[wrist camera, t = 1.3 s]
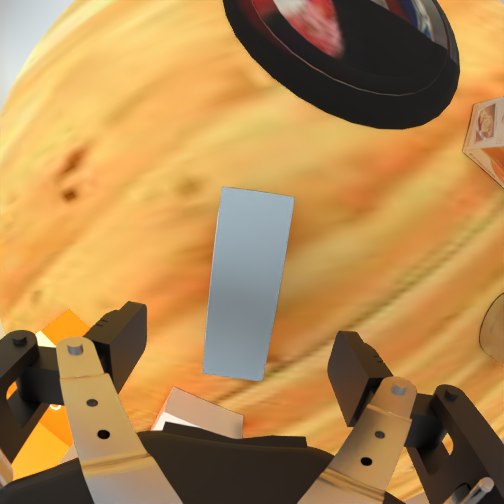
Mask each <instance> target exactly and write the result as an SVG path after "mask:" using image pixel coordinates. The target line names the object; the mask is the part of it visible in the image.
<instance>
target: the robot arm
mask: <svg viewBox="0 0 504 504" xmlns="http://www.w3.org/2000/svg"><path fill="white" fill-rule="evenodd" d="M146 341H147V307H146V305H145V304H141V303H136V302H131V301H128V302H127V303H126V304H125V305H124V306H123V307H122V308H121V309H120V310H114V311H111V312H109V313H106V314H105V315H104V316H103V317H102V318H101V319H100V320H99V321H98V322H97V323H96V324H95V325H94V326H93V327H91V328H90V329H89V330H88V331H87V332H86V333H85V334H84V335H83V336H82V337H79V336H72V337H67V338H64V339H62V340H60V341H59V342H58V343H57V345H56V347H46V346H38V341H37V337H36V335H35V334H34V333H32V332H30V331H26V330H17V331H13V332H10V333H8V334H7V335H6V336H4V337H3V338H2V339H1V340H0V504H406V503H404V502H402V501H401V500H399V499H397V498H396V497H394V496H393V495H391V494H390V493H388V492H386V491H385V490H386V488H387V486H388V484H389V481H390V479H391V477H392V474H393V472H394V469H395V467H396V465H397V462H398V459H399V457H400V454H401V452H402V449H403V446H404V447H406V449H407V451H408V453H409V455H410V458H411V460H412V462H413V465H414V467H415V469H416V471H417V474H418V476H419V479H420V481H421V483H422V486H423V488H424V491H425V493H426V495H427V498H428V500H429V503H430V504H504V444H503V443H502V441H501V440H500V438H499V437H498V436H497V434H496V433H495V432H494V430H493V429H492V428H491V426H490V425H489V424H488V423H487V421H486V420H485V419H484V417H483V416H482V415H481V413H480V412H479V411H478V410H477V408H476V407H475V406H474V405H473V403H472V402H471V401H470V400H469V398H468V397H467V396H466V395H465V393H464V392H463V391H462V390H460V389H459V388H457V387H455V386H452V385H447V384H443V385H439V386H438V387H437V388H436V390H435V392H434V394H433V395H426V394H419V393H417V389H416V387H415V386H414V385H413V384H412V383H411V382H410V381H408V380H406V379H404V378H400V377H394V376H393V375H392V373H391V372H390V370H389V369H388V367H387V366H386V365H385V363H383V360H382V359H381V357H379V355H378V353H377V352H376V350H375V349H374V348H372V347H371V346H369V345H368V344H367V343H364V342H363V340H362V339H361V337H360V336H359V334H358V333H357V332H353V331H339V332H338V333H337V335H336V339H335V342H334V346H333V349H332V352H331V356H330V359H329V362H328V377H329V379H330V382H331V384H332V387H333V390H334V392H335V395H336V398H337V400H338V403H339V406H340V408H341V411H342V414H343V416H344V419H345V422H346V424H347V427H354V428H353V430H352V431H351V433H350V435H349V436H348V438H347V439H346V441H345V442H344V444H343V445H342V447H341V448H340V450H339V451H338V453H337V454H336V455H335V456H334V455H332V454H330V453H328V452H326V451H323V450H320V449H317V448H313V447H309V446H307V442H306V437H299V436H273V435H271V436H263V437H254V438H243V439H234V438H230V437H227V436H224V435H220V434H217V433H214V432H211V431H208V430H205V429H202V428H200V427H194V426H188V425H182V424H177V423H172V422H167V421H165V424H164V427H163V430H151V431H143V432H138V433H136V432H135V430H134V428H133V426H132V424H131V422H130V420H129V418H128V416H127V414H126V412H125V409H124V407H123V405H122V403H121V401H120V399H119V396H118V394H119V392H120V391H121V389H122V387H123V386H124V384H125V382H126V380H127V379H128V377H129V375H130V374H131V372H132V370H133V369H134V367H135V365H136V364H137V362H138V360H139V359H140V357H141V355H142V354H143V352H144V350H145V347H146ZM480 344H481V347H482V349H483V350H484V351H485V352H486V353H487V354H489V355H490V356H491V357H492V358H493V359H495V360H496V361H497V362H498V363H499V364H500V365H502V366H503V367H504V294H502V295H501V296H500V297H499V298H498V299H497V300H496V301H495V302H494V303H493V305H492V306H491V308H490V309H489V311H488V313H487V315H486V317H485V319H484V322H483V324H482V328H481V333H480ZM14 382H15V383H16V386H17V389H16V390H15V391H14V392H13V393H12V394H11V396H10V397H9V398H8V399H7V392H8V389H9V387H10V386H11V385H12V384H13V383H14ZM51 404H53V405H61V406H65V409H66V414H67V418H68V422H69V426H70V430H71V433H72V437H73V441H74V444H75V447H76V451H77V454H78V458H75V459H73V460H70V461H67V462H65V463H62V464H60V465H57V466H54V467H52V468H49V469H46V470H43V471H40V472H37V473H34V474H31V475H28V476H25V477H22V478H19V479H16V480H14V481H13V477H14V471H13V468H12V466H11V465H12V463H13V462H14V460H15V458H16V457H17V455H18V453H19V452H20V450H21V449H22V447H23V445H24V444H25V442H26V441H27V439H28V438H29V436H30V435H31V433H32V431H33V430H34V428H35V427H36V425H37V424H38V422H39V421H40V419H41V418H42V416H43V415H44V414H45V412H46V411H47V409H48V408H49V406H50V405H51ZM447 432H448V434H449V435H450V437H451V439H452V441H453V451H452V453H451V455H449V453H448V452H447V450H446V448H445V446H444V444H443V443H442V440H443V439H444V437H445V436H446V434H447Z"/></svg>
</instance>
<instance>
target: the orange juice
mask: <svg viewBox="0 0 504 504" xmlns="http://www.w3.org/2000/svg"><path fill="white" fill-rule="evenodd" d="M89 329H90V328H89V327H88V326H87V325H86V324H85V323H84V322H83V321H81V320H80V319H79V318H78V317H77V316H76V315H75V314H74V313H73V312H72V311H71V310H70V309H69V310H68V311H67V312H65V313H64V314H62V315H61V316H60V317H58V318H57V319H56V320H54V321H53V322H52V323H51V324H49V325H48V326H47V327H45V328H44V329H43V330H41V331H39V332H38V333H37V334H35V335H36V337H37V341H38V346H46V347H56V345H57V343H58V342H59V341H60V340H62V339H64V338H67V337H72V336H79V337H82V336H83V335H84V334H85V333H86V332H87V331H88V330H89ZM16 389H17V386H16V383H15V382H14V383H13V384H12V385H11V386H10V387H9V389H8V392H7V399H8V398H9V397H10V396H11V394H12V393H13V392H14V391H15V390H16ZM73 442H74V441H73V437H72V433H71V430H70V426H69V422H68V418H67V414H66V409H65V406H61V405H53V404H51V405H50V406H49V408H48V409H47V411H46V412H45V414H44V415H43V416H42V418H41V419H40V421H39V422H38V424H37V425H36V427H35V428H34V430H33V431H32V433H31V435H30V436H29V438H28V439H27V441H26V442H25V444H24V445H23V447H22V449H21V450H20V452H19V453H18V455H17V457H16V458H15V460H14V462H13V463H12V465H11V466H12V468H13V471H14V477H13V481H14V480H16V479H19V478H22V477H25V476H28V475H31V474H34V473H37V472H40V471H43V470H46V469H49V468H52V467H54V466H57V465H58V464H59V462H60V461H61V459H62V458H63V456H64V455H65V453H66V452H67V451H68V449H69V448H70V446H71V445H72V443H73Z"/></svg>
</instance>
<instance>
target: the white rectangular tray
mask: <svg viewBox="0 0 504 504" xmlns="http://www.w3.org/2000/svg"><path fill="white" fill-rule="evenodd" d="M165 421H167V422H172V423H177V424H182V425H188V426H194V427H200V428H202V429H205V430H208V431H211V432H214V433H217V434H220V435H224V436H227V437H230V438H234V439H242V434H243V415H240V414H238V413H235V412H232V411H230V410H227V409H225V408H222V407H220V406H217V405H215V404H212V403H210V402H207V401H205V400H203V399H200V398H198V397H196V396H194V395H191V394H189V393H187V392H185V391H183V390H180V389H178V388H176V387H174V386H173V388H172V390H171V391H170V393H169V395H168V397H167V399H166V401H165V403H164V405H163V407H162V409H161V410H160V412H159V414H158V416H157V418H156V420H155V422H154V424H153V426H152V428H151V430H163V427H164V424H165ZM151 430H150V431H151Z"/></svg>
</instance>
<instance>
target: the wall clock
mask: <svg viewBox="0 0 504 504" xmlns="http://www.w3.org/2000/svg"><path fill="white" fill-rule="evenodd" d="M223 3H224V8H225V12H226V16H227V18H228V20H229V22H230V24H231V26H232V28H233V30H234V32H235V35H236V36H237V38H238V39H239V40H240V42H241V43H242V44H243V45H244V47H245V48H246V49H247V51H248V52H249V53H250V55H251V56H252V57H253V58H254V59H255V60H256V61H257V62H258V63H259V64H260V65H261V66H262V67H263V68H264V69H265V70H266V71H267V72H268V73H269V74H270V75H271V76H272V77H273V78H275V79H276V80H277V81H279V82H280V83H281V84H283V85H284V86H286V87H287V88H288V89H289V90H291V91H292V92H293V93H295V94H296V95H297V96H299V97H301V98H302V99H304V100H306V101H308V102H309V103H311V104H313V105H315V106H316V107H318V108H320V109H322V110H323V111H325V112H327V113H330V114H333V115H335V116H338V117H340V118H343V119H345V120H348V121H350V122H353V123H357V124H362V125H366V126H370V127H375V128H379V129H406V128H411V127H416V126H421V125H424V124H425V123H427V122H429V121H431V120H432V119H434V118H436V117H438V116H439V115H440V114H441V113H442V112H443V110H444V109H445V108H446V107H447V106H448V105H449V104H450V102H451V100H452V98H453V96H454V94H455V92H456V89H457V85H458V80H459V74H460V63H459V51H458V47H457V43H456V40H455V36H454V33H453V30H452V28H451V26H450V23H449V21H448V19H447V17H446V15H445V13H444V11H443V10H442V8H441V7H440V5H439V3H438V2H437V0H223Z"/></svg>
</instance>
